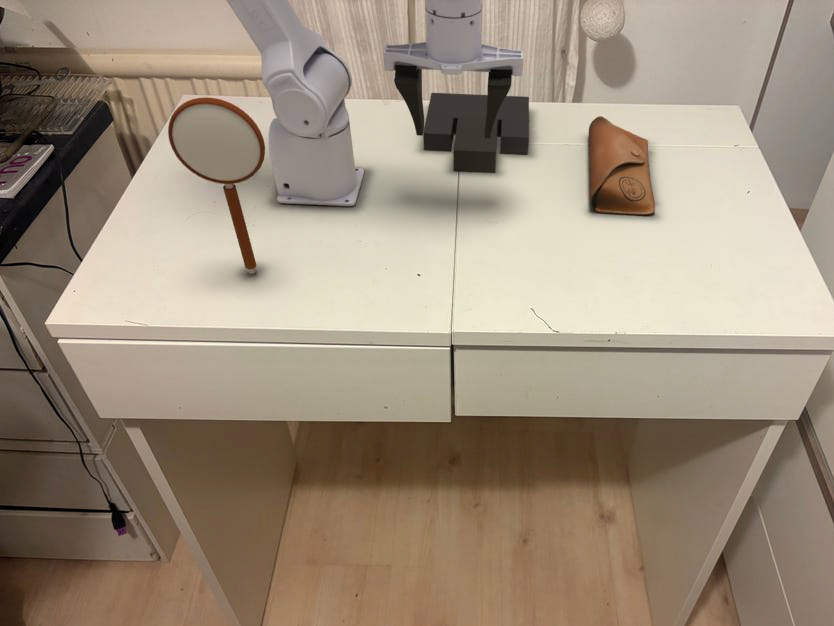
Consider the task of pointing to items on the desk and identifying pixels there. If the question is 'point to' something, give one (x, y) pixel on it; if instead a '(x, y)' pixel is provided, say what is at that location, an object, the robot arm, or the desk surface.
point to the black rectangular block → (474, 145)
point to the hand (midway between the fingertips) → (454, 132)
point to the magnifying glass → (220, 153)
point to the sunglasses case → (618, 170)
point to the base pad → (453, 105)
